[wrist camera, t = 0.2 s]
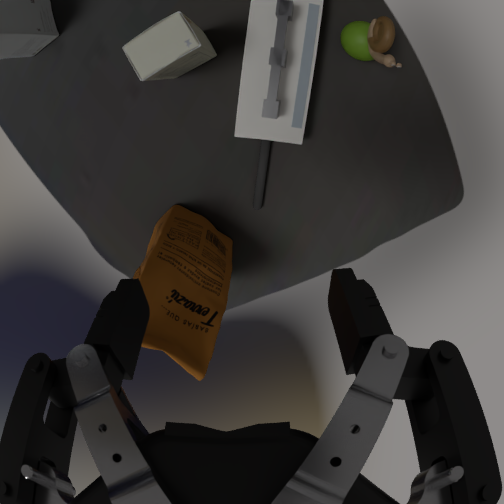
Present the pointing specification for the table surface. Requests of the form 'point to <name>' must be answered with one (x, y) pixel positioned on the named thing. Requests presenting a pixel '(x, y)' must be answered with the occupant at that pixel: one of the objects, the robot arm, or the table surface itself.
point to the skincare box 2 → (169, 49)
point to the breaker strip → (291, 79)
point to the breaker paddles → (277, 58)
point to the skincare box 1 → (25, 27)
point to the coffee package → (185, 287)
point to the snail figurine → (370, 40)
